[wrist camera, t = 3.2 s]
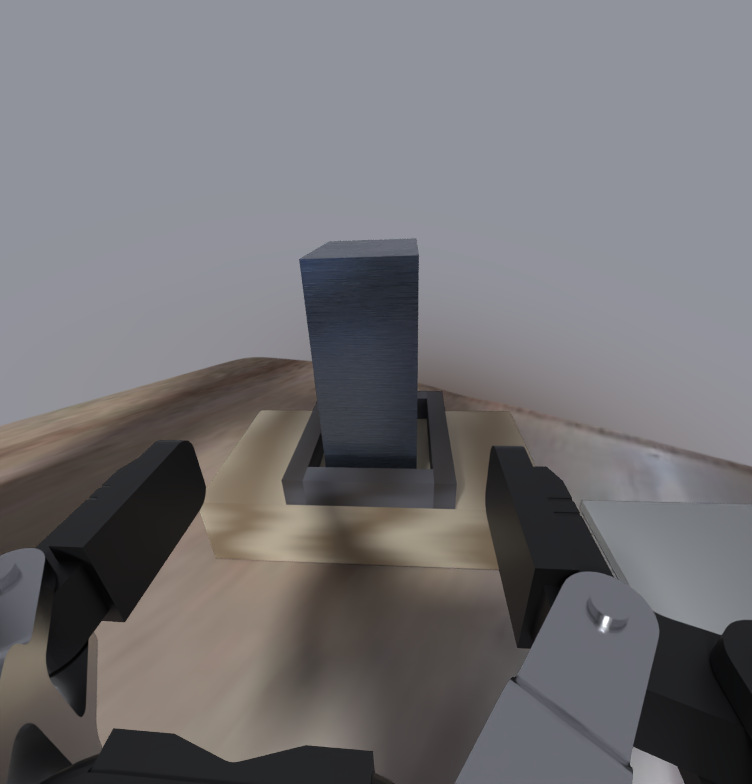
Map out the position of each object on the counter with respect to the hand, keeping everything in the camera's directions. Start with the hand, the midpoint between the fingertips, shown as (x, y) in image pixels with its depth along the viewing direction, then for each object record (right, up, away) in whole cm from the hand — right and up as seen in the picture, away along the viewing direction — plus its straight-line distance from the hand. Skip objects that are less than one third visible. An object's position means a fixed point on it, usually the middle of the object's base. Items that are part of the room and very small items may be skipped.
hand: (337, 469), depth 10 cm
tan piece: (+1, -5, +14) cm, 14 cm away
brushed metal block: (+1, -1, +12) cm, 12 cm away
